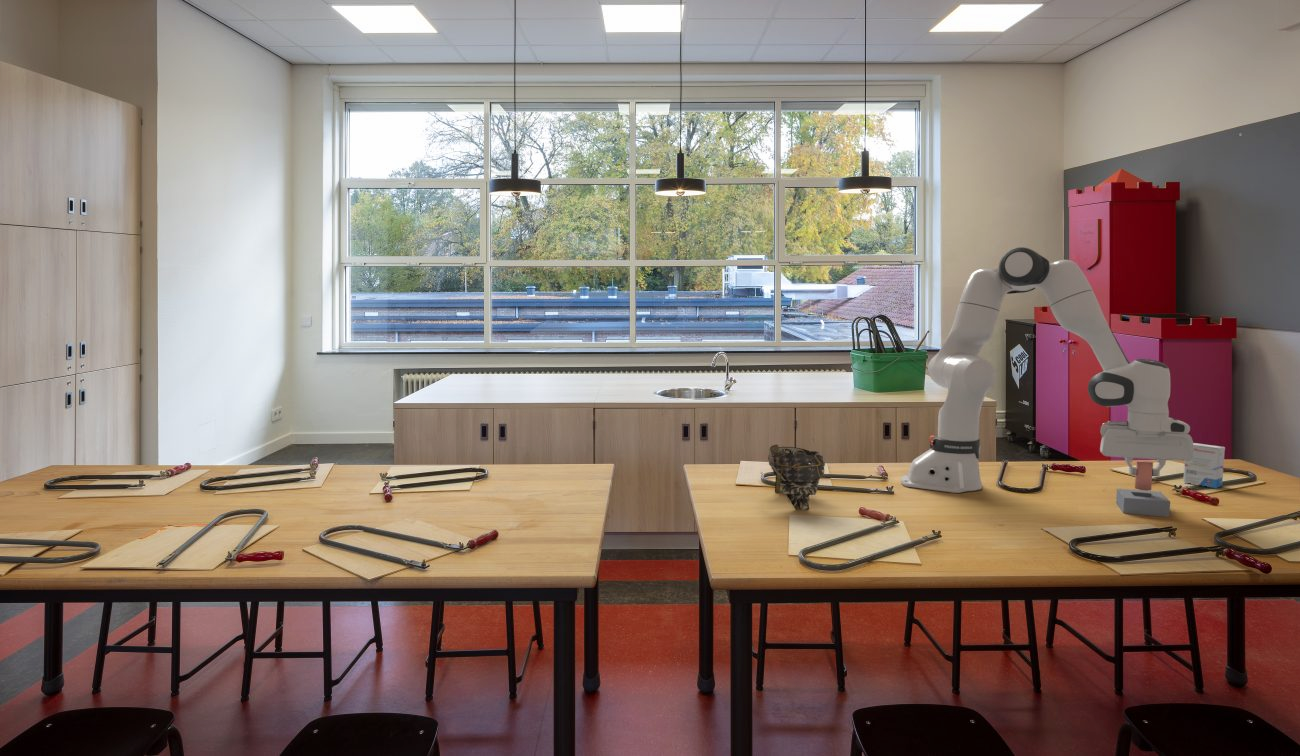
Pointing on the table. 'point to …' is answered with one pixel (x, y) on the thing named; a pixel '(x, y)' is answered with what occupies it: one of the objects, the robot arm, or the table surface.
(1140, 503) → the socket
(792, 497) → the checked fabric bag
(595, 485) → the table surface
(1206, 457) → the ink box
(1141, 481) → the peg
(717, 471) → the table surface
